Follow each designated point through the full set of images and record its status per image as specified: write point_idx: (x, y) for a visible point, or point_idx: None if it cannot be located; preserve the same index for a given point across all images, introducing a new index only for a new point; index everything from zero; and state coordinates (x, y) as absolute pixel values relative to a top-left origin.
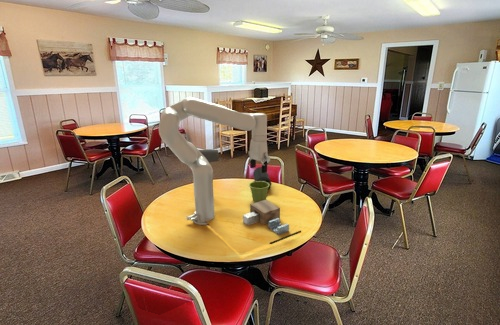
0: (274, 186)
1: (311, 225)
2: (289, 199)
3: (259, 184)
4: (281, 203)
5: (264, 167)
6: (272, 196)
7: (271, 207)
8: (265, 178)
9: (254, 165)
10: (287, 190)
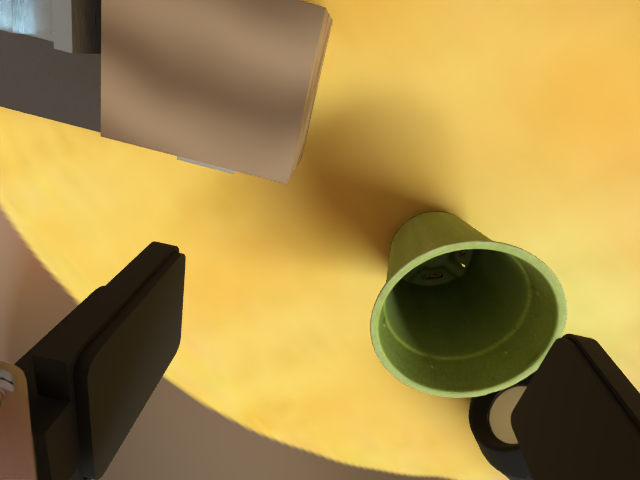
0: None
1: (22, 203)
2: (311, 374)
3: (497, 358)
4: (313, 314)
5: (37, 344)
6: None
7: (148, 94)
8: (524, 462)
9: (538, 432)
10: (390, 450)
